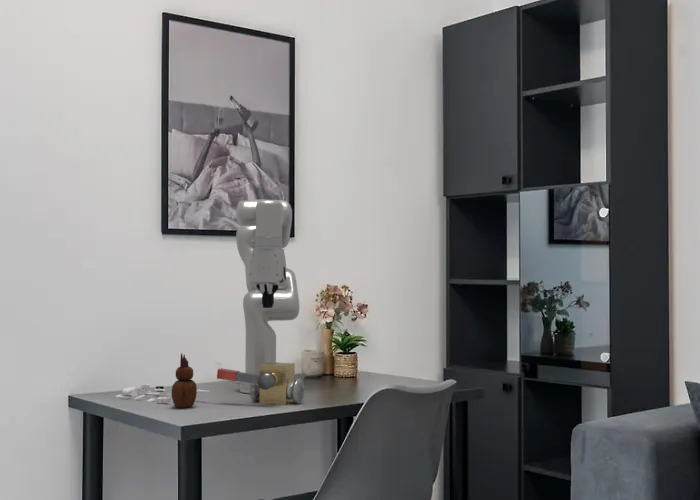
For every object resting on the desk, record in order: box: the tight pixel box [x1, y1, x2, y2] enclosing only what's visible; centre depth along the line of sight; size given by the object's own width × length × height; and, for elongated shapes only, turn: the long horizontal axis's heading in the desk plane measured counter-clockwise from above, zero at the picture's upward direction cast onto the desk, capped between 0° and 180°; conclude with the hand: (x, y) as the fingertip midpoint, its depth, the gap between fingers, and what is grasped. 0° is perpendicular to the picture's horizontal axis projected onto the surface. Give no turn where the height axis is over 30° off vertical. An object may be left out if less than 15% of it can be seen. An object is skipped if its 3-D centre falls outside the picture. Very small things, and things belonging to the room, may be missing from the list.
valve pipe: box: [249, 361, 305, 406], centre depth 255 cm, size 14×10×11 cm
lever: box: [216, 367, 276, 390], centre depth 251 cm, size 4×3×17 cm
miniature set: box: [114, 379, 209, 405], centre depth 261 cm, size 6×35×12 cm
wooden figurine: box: [171, 353, 198, 409], centre depth 246 cm, size 7×6×15 cm
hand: (267, 307), depth 256 cm, fingers closed
